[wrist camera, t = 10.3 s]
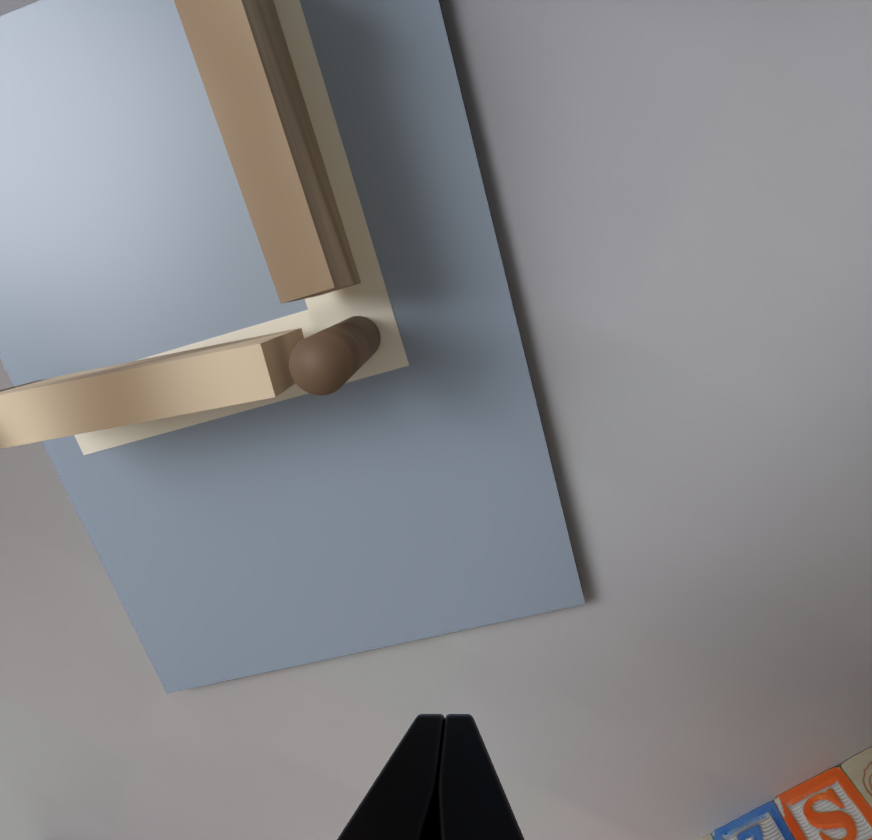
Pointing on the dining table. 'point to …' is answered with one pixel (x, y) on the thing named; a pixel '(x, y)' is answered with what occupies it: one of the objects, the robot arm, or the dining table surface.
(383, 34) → the mat
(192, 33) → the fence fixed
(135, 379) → the bar
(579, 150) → the dining table surface
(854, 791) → the stack of blocks
